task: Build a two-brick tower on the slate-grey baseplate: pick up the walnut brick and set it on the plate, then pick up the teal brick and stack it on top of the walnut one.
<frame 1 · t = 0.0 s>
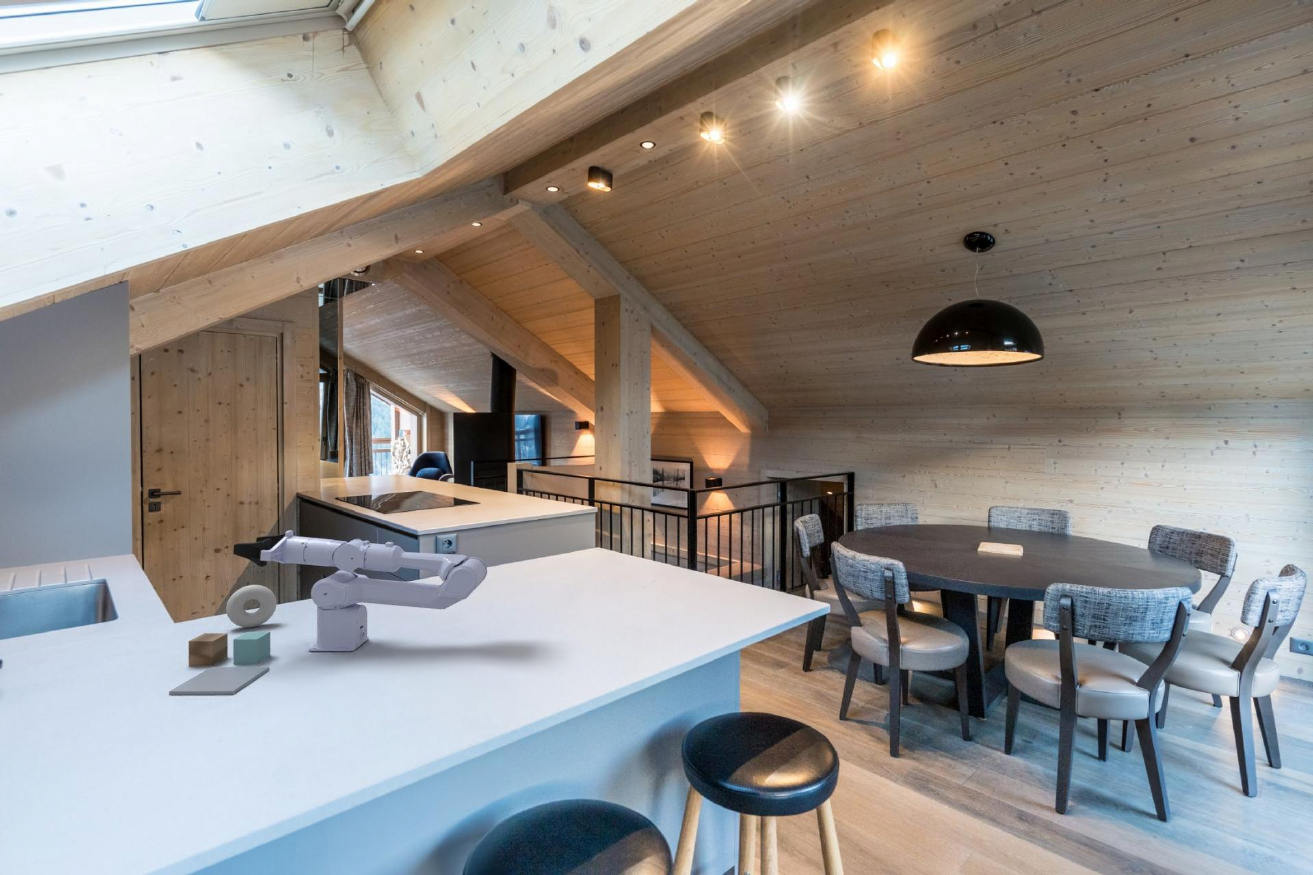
hand: (246, 545, 134), 22 cm above the breakfast bar, tool horizontal, fingers open, 7 cm apart
teal brick: (252, 659, 127), on the breakfast bar
baseplate: (221, 681, 116), on the breakfast bar
donut: (251, 627, 146), on the breakfast bar
walnut brick: (208, 661, 125), on the breakfast bar
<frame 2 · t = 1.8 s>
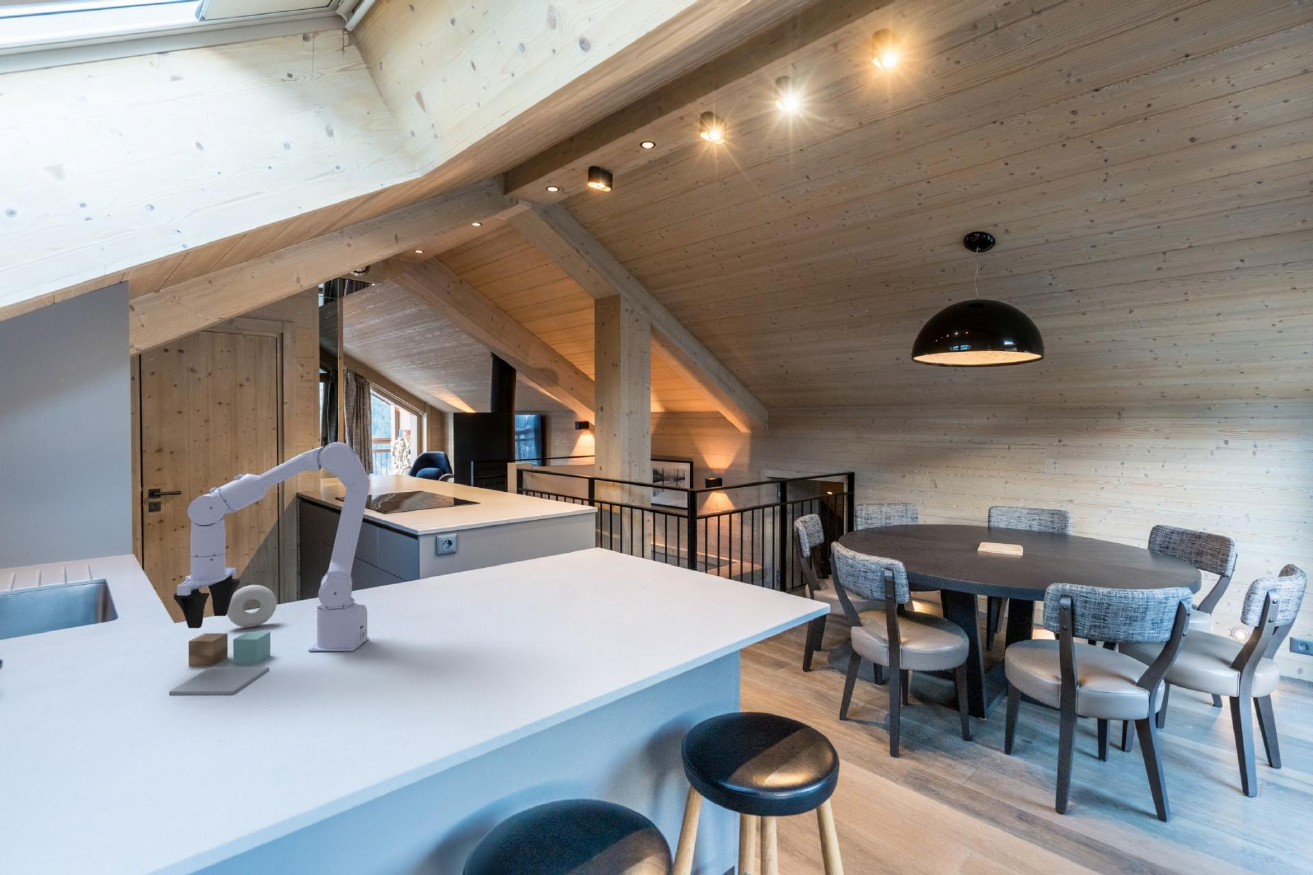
hand: (208, 621, 125), 8 cm above the breakfast bar, tool pointing down, fingers open, 7 cm apart
nothing on the breakfast bar moved.
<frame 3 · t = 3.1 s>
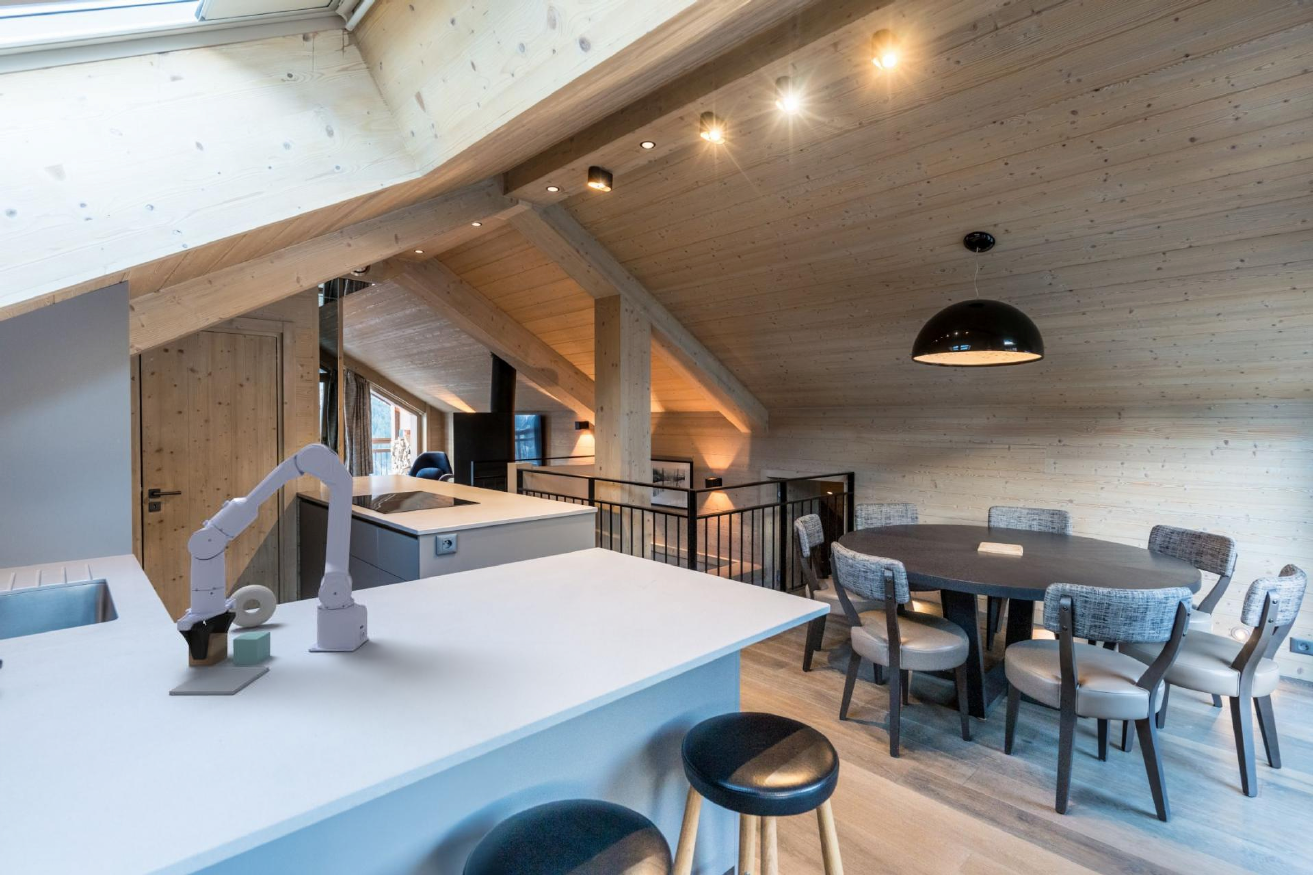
hand: (208, 654, 125), 1 cm above the breakfast bar, tool pointing down, fingers closed on walnut brick, 5 cm apart
walnut brick: (208, 661, 125), on the breakfast bar, touching gripper
everything else where it was.
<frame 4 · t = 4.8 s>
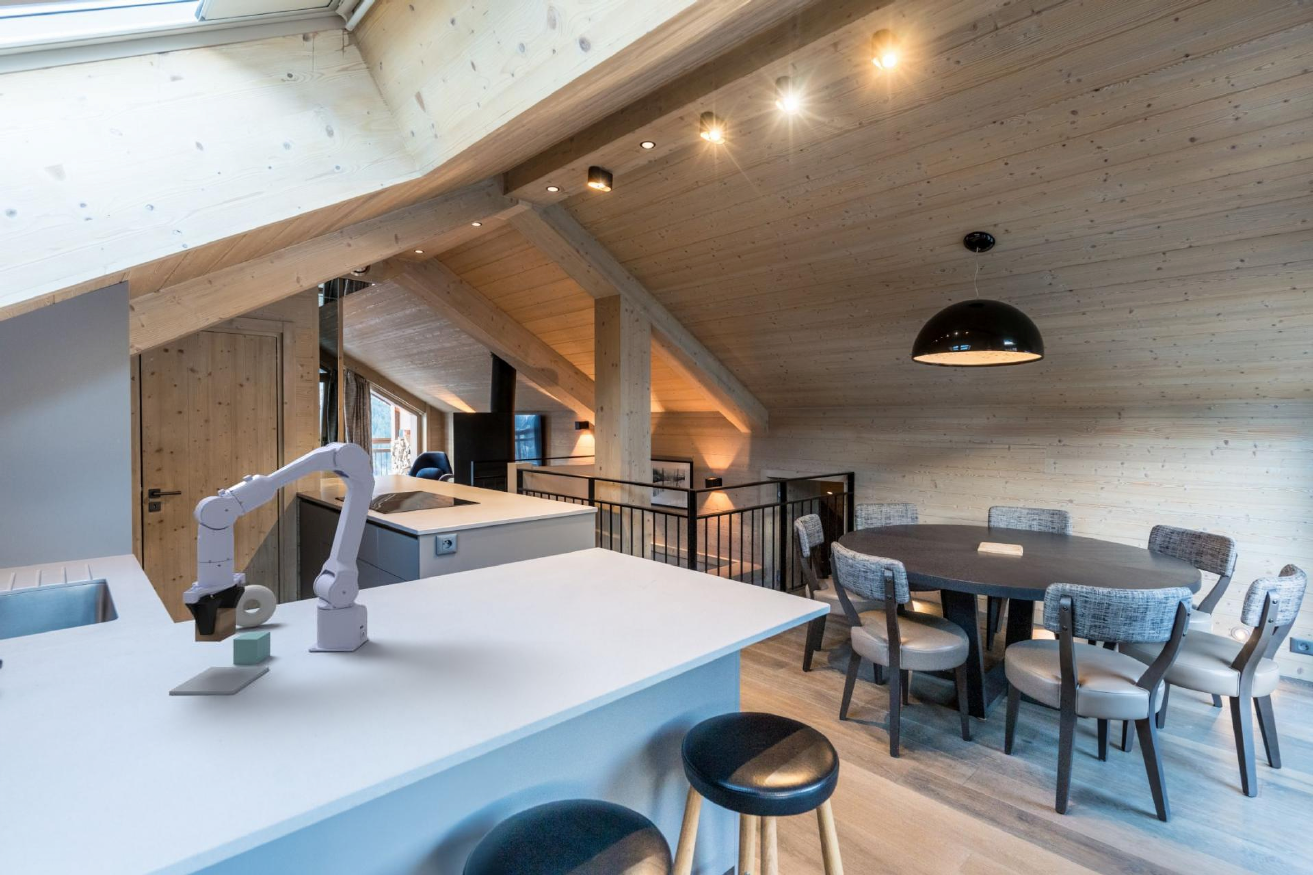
hand: (216, 630, 119), 8 cm above the breakfast bar, tool pointing down, fingers closed on walnut brick, 5 cm apart
walnut brick: (215, 637, 119), point 7 cm above the breakfast bar, touching gripper
everything else where it was.
when the fingers open (3 cm above the breakfast bar, at t = 6.6 s): walnut brick stays where it is, resting on baseplate.
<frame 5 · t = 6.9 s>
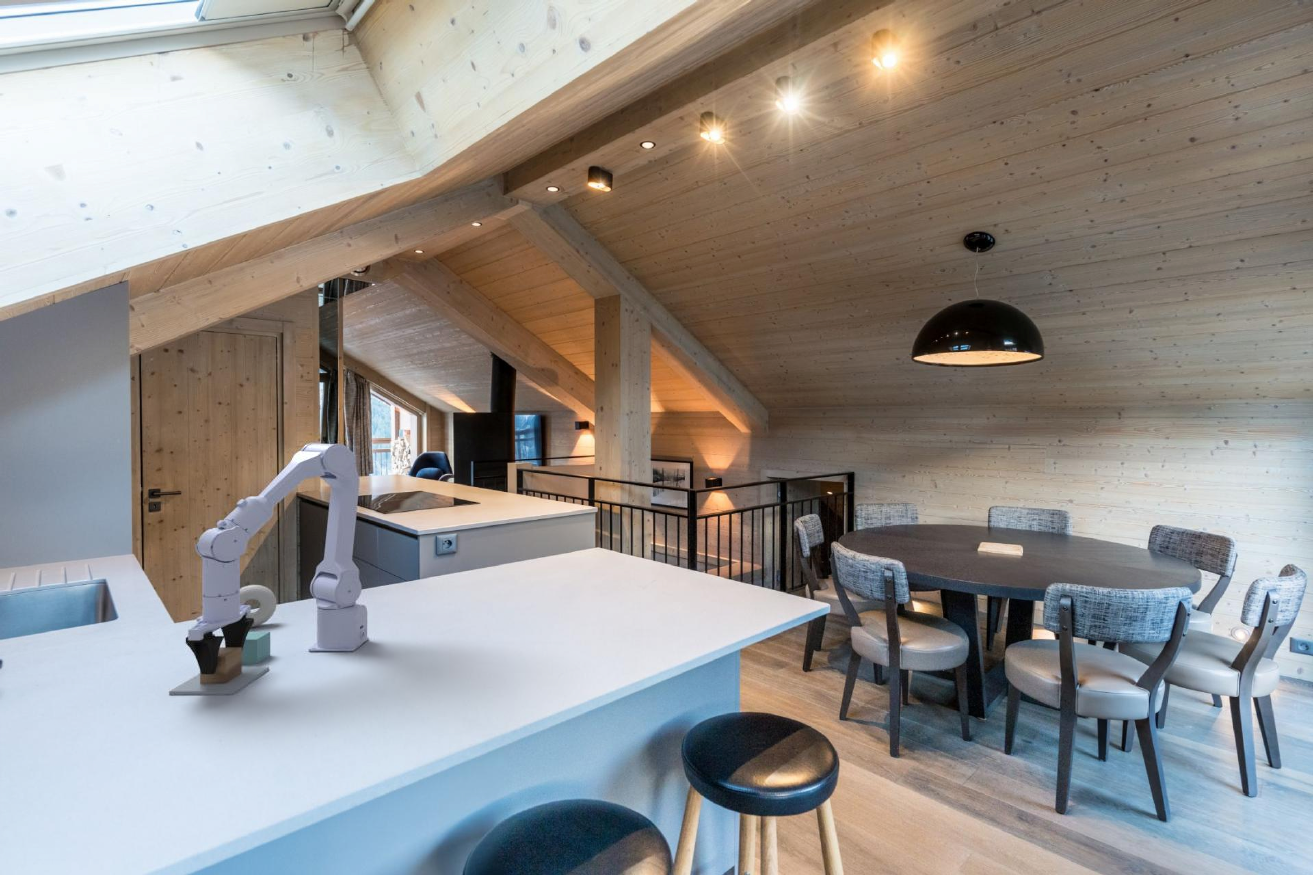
hand: (221, 665, 116), 3 cm above the breakfast bar, tool pointing down, fingers open, 7 cm apart
walnut brick: (221, 678, 116), point 1 cm above the breakfast bar, touching baseplate
everything else where it was.
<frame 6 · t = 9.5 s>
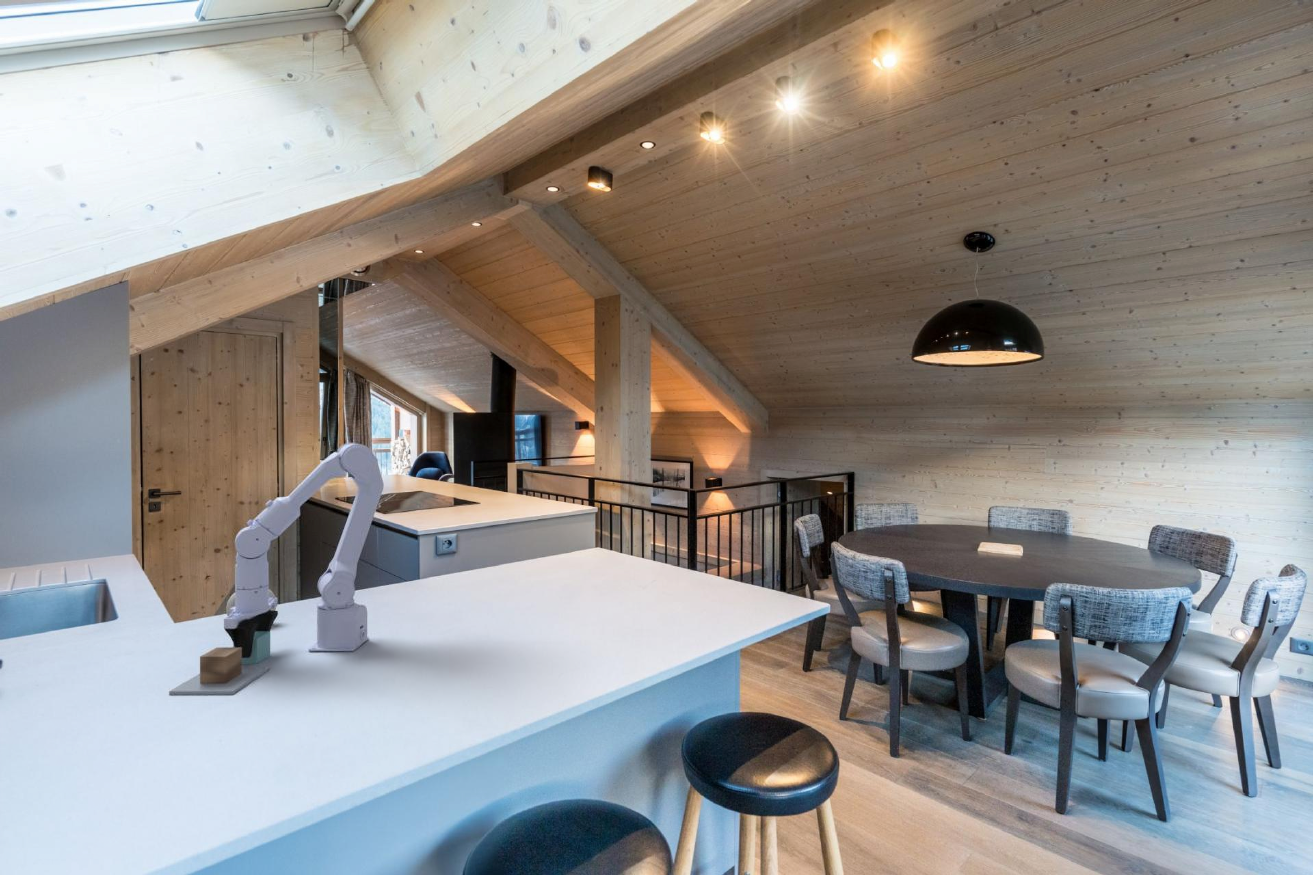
hand: (252, 652, 127), 1 cm above the breakfast bar, tool pointing down, fingers closed on teal brick, 5 cm apart
teal brick: (252, 659, 127), on the breakfast bar, touching gripper
everything else where it was.
when the fingers open (8 cm above the breakfast bar, at t = 12.6 s): teal brick stays where it is, resting on walnut brick.
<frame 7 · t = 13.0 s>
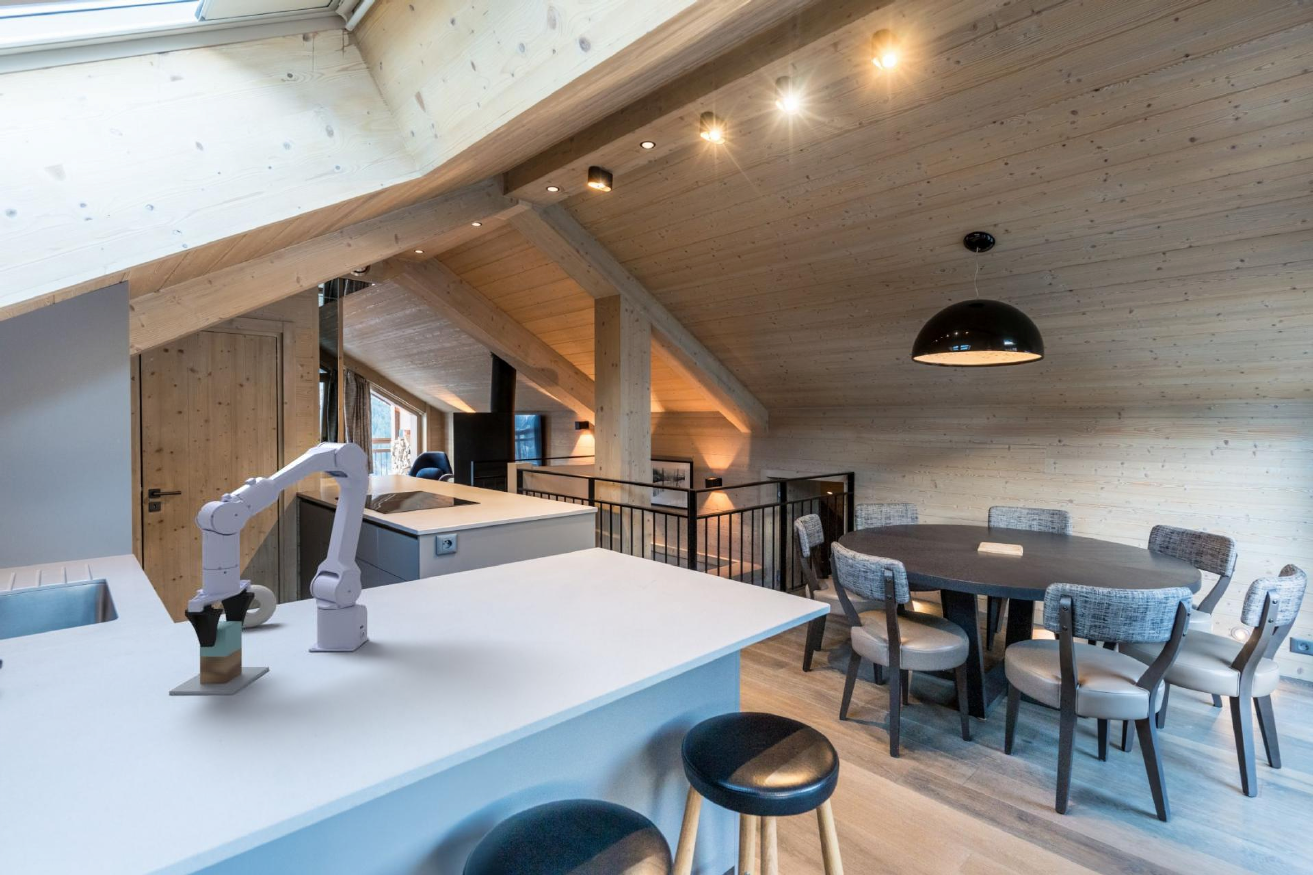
hand: (221, 639, 116), 8 cm above the breakfast bar, tool pointing down, fingers open, 7 cm apart
teal brick: (221, 651, 116), point 6 cm above the breakfast bar, touching walnut brick
walnut brick: (221, 678, 116), point 1 cm above the breakfast bar, touching baseplate, teal brick
everything else where it was.
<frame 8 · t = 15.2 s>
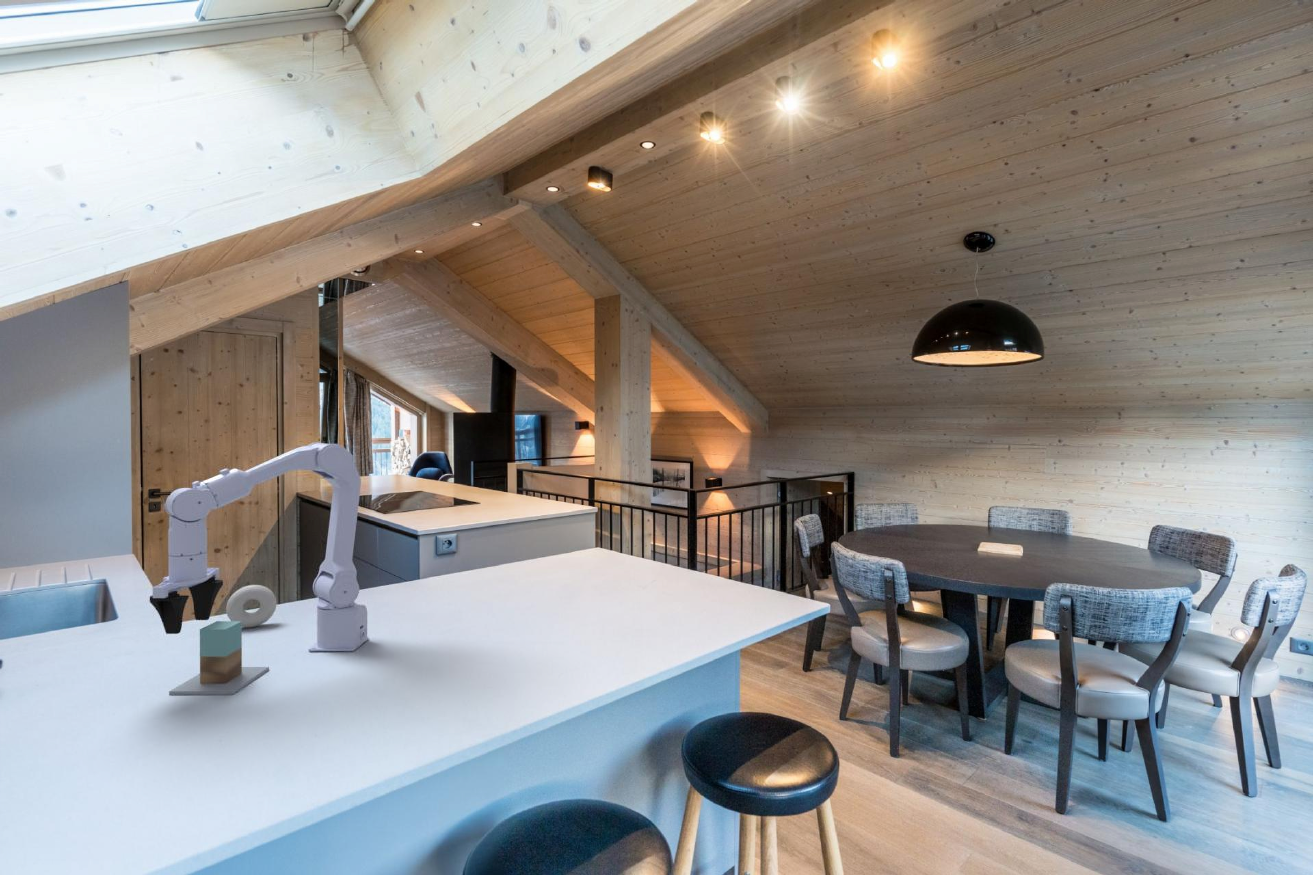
hand: (188, 626, 115), 10 cm above the breakfast bar, tool pointing down, fingers open, 7 cm apart
nothing on the breakfast bar moved.
at the end: walnut brick 0.1 cm off-centre on the baseplate, point 0.6 cm above the baseplate's base; teal brick 0.0 cm off-centre on the walnut brick, point 5.0 cm above the walnut brick's base; teal brick tilted 0° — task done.
